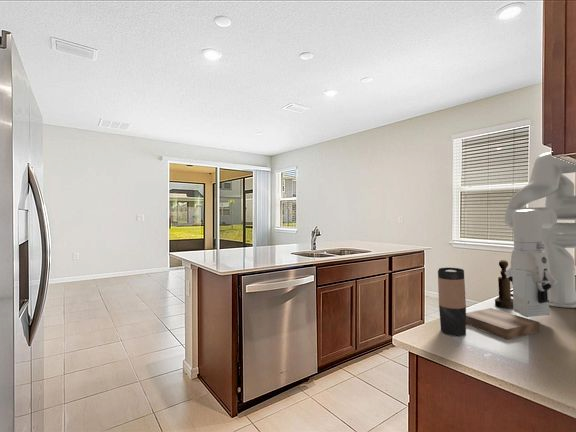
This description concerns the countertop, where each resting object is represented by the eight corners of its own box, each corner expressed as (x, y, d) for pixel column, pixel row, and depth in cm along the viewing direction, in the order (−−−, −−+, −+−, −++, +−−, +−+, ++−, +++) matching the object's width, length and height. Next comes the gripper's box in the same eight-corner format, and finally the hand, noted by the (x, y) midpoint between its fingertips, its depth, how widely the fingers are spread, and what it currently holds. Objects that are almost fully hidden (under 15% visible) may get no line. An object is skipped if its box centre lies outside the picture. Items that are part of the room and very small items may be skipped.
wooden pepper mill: (509, 303, 126) (507, 258, 126) (519, 308, 120) (517, 261, 120) (491, 303, 127) (489, 259, 127) (501, 308, 121) (499, 261, 120)
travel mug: (472, 334, 98) (470, 270, 98) (451, 338, 96) (448, 272, 96) (454, 326, 105) (452, 266, 105) (434, 329, 104) (432, 268, 103)
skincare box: (526, 317, 103) (524, 272, 102) (512, 311, 109) (510, 268, 108) (551, 315, 103) (549, 270, 102) (535, 309, 109) (533, 266, 108)
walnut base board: (491, 316, 113) (491, 308, 113) (539, 331, 98) (539, 322, 98) (461, 322, 108) (461, 313, 108) (507, 339, 93) (506, 329, 93)
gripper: (565, 247, 98) (568, 304, 99) (510, 243, 114) (512, 291, 115) (549, 250, 96) (552, 308, 96) (494, 245, 112) (497, 295, 113)
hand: (530, 299), depth 106 cm, fingers closed on skincare box, 6 cm apart
